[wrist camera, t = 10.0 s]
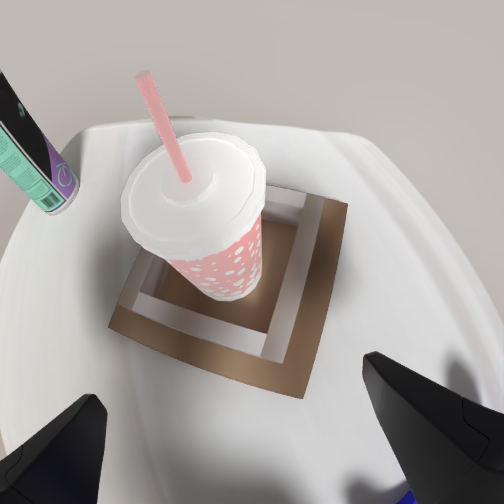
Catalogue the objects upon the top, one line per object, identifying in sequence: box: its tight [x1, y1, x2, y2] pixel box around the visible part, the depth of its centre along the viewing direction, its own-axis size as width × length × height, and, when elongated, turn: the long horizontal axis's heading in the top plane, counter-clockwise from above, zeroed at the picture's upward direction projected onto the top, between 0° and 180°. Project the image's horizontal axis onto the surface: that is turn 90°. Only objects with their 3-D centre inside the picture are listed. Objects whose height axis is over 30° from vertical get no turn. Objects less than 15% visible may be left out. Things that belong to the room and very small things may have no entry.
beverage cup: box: [121, 70, 266, 301], centre depth 12 cm, size 6×6×14 cm
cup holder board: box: [108, 185, 348, 399], centre depth 18 cm, size 14×14×4 cm
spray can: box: [0, 70, 80, 216], centre depth 16 cm, size 6×6×20 cm
